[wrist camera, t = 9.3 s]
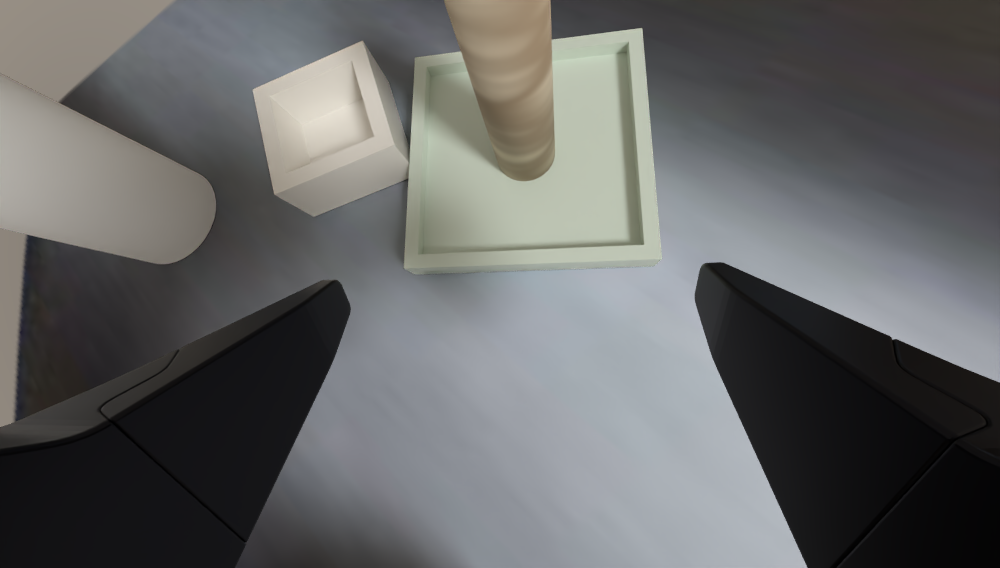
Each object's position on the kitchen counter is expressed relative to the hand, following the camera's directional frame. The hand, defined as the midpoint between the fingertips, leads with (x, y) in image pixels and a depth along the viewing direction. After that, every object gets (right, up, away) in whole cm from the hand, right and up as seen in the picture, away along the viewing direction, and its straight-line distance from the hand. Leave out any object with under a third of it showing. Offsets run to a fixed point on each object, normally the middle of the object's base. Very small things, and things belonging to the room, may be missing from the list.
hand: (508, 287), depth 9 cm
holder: (-10, +9, +16) cm, 21 cm away
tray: (+1, +8, +14) cm, 16 cm away
